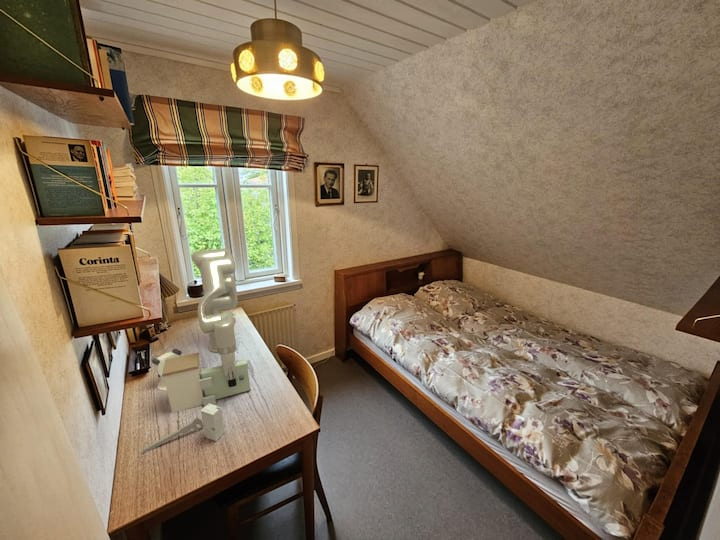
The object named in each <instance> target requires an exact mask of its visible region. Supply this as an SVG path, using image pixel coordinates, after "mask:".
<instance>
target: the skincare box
mask: <svg viewBox="0 0 720 540" xmlns="http://www.w3.org/2000/svg"><path fill="white" fill-rule="evenodd" d="M222 410H223V409H222V407H221V406H218V405H216V404H213V405H212V404H210V403H209V404H208V405H207V406H205V407H204V406H203V408H202V409H201V410H200V414H201V420H202V423H203V429H202V430H203V433H204V434H203V435H204V437H205V438H207V439H209V440H211V441H215V442H217V441H218V440H219V439H220V438H221V437H222V436H223V435H224V434H225V429H224V428H225V427H224V420H223V412H222Z"/></svg>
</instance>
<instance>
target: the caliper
mask: <svg viewBox="0 0 720 540" xmlns="http://www.w3.org/2000/svg"><path fill="white" fill-rule="evenodd" d="M192 419H193V420H191V421H190V422H189V423H186V424H185V425H182V426H181V427H180V429H179V428H178V429H177V430H175V431H173V432H172V433H170V434H168V435H165V436H164V437H162V438H160V439H158V440H156V441H155V442H153V443H150V444H149V445H148V446H145V447H143V449H142V450H141V451H140V454H139V455H143V454H144V453H147V452H150V451H151V450H153V449H156V448H158V447H159V446H161V445H163V444H165V443H166V442H168V441H170V440H172V439H174V438H176V437H178V436H179V435H181V434H183V435H185V434H186V433H189V431H191V430H192V429H193V430H194V431H196V432H199V428H198V425H199V426H200V428H201V429H202V430H204V429H203V422H202V418H200V417H198V416H196V417H195V418H194V417H193V418H192Z"/></svg>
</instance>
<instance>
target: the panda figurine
mask: <svg viewBox="0 0 720 540" xmlns="http://www.w3.org/2000/svg"><path fill="white" fill-rule="evenodd" d="M179 356H182V351H181V350H180V349H177V348H173V349H172V351H169V352H166V353H164V354H161V355H160V356H158V357H157V358H156V357H155V358H152V359H151V363H152V364H153V370H154V372H155V374H157V377H158V378H159V379H160V381H158V383H157V389H158V390H159V391H162V392H167V389H166V384H165V380H164V377H163V376H162V372H163V368H164V364H165V360H166V359H170V358H175V357H179Z"/></svg>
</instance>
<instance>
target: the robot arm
mask: <svg viewBox="0 0 720 540" xmlns="http://www.w3.org/2000/svg"><path fill="white" fill-rule="evenodd" d="M191 260H192V262H193V264H194V266H195V267H196V268H198V270H199V272H200V279H201V284H202V289H203V292H204V295H203V296H202V297H201V299H200V300H199V303H198V306H197V318H198V324H199V328H200V332H202V333H203V334H209V338H210V344H209V345H208V351H210V352H212V353H217V354H218V355H219V356H220V360H221V366H222V368H223V374H224V376H228V386H229V387H234V386H236V385H237V384H236V378H235V375H234V374H235V373H236V365H235V362H236V357H235V356H236V355H235V352H236V351H237V350H238V348H237V342H236V341H237V339H236V334H235V324H236V321H237V318H236V314H235V313H233V311H228V310H230V309H234V308H236V307H237V306H238V304H239V301H238V300H239V299H238V292H237V291H238V290H237V284H236V283H237V282H236V279H235V276H234V275H233V274H234V273H236V263H235V259H234V257H233V254H232V252H231V250H230V249H228V248H226V247H225V248H217V249H215V248H214V249H204V250H198V251H195V252H193V253H192V254H191ZM226 310H227V311H226ZM222 311H224V312H222ZM231 367H232V369H231ZM232 374H233V376H232Z"/></svg>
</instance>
